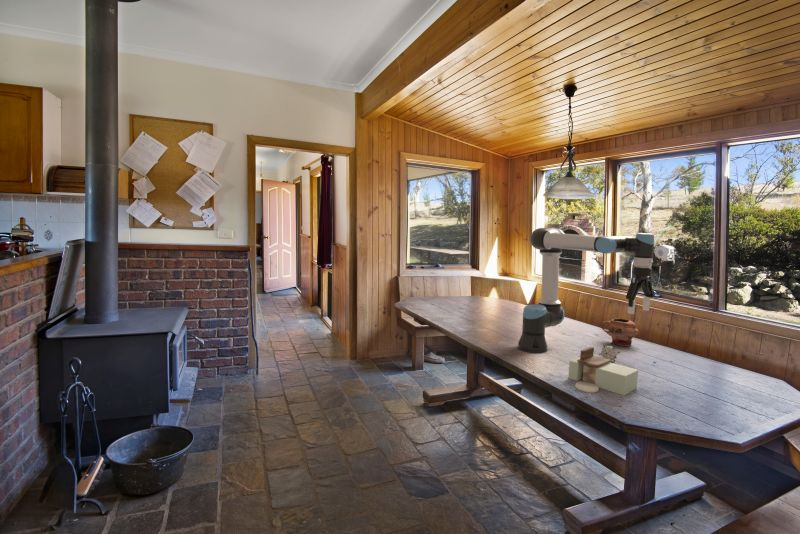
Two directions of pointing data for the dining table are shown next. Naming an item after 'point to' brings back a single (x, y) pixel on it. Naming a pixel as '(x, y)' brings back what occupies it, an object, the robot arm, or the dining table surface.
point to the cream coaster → (587, 387)
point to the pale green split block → (608, 376)
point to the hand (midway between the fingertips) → (638, 312)
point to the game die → (609, 352)
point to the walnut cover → (592, 358)
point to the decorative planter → (621, 331)
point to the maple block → (589, 373)
